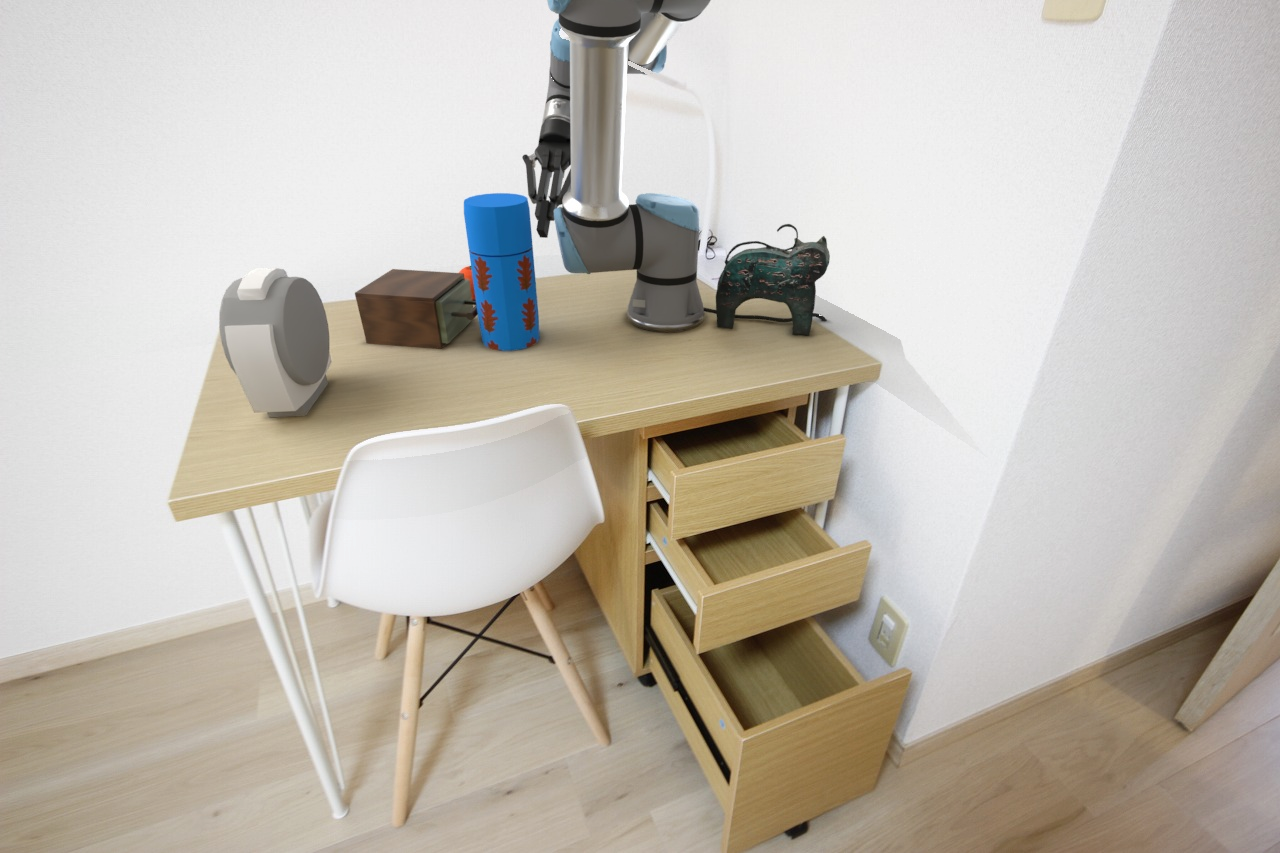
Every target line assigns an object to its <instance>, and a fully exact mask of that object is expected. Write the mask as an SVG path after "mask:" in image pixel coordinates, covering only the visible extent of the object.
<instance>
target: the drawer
mask: <svg viewBox="0 0 1280 853" xmlns="http://www.w3.org/2000/svg"><path fill="white" fill-rule="evenodd" d="M435 304H436V310H437V316H438V322H439V328H440V334H441V339H442V343H447V344H450V342H452V340H454V339H455V338H456V337H457V336H458V335H459V333H461V332H462V331H463V330H464V329H465V328H466V327H467V326H468V325H469V324H470V323H471V322H472V321H473V320H474V319H475V318H476V317H478V313H477V305H476V300H473V299H472V295H471V288H470V281H469V279H463V280H462V281H460V282H459V283H458V284H457V285H456V284H455V285H454V286H453V287H452V288H451V289H449V290H448V291H447V292H446V293H444V294H443V295H442V296H441V297H439V298H438V299H437V300H436V301H435Z"/></svg>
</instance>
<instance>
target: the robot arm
mask: <svg viewBox="0 0 1280 853" xmlns="http://www.w3.org/2000/svg"><path fill="white" fill-rule="evenodd" d="M546 1H547V5H548V8H549V10H550V11H551V12H553V13H554V14H556V15H557V14H558V18H557V19H556V20H555V22H554V24H553V26H552V30H551V37H550V42H549V47H550V49H549V50H550V53H549V54H550V55H549V57H550V60H549V61H550V62H549V63H550V64H549V72H548V73H549V74H548V85H547V86H548V87H547V92H546V101H545V104H544V110H543V116H542V121H541V126H540V131H539V136H538V143H537V146H536V148H535V149H534V153H532V154H530V155H528V154H523V155H522V160H523V164H524V165H525V170H526V172H525V173H526V183H527V195H528V198H529V200H530V202H531V203H532V204H533V205H535V209H534V216H535V219H536V220H537V224H536V231H537V234H538V236H539V238H541V239H542V238H543V239H544V238H546V239H548V236H549V230H550V226H551V222H554V224H555V231H556V236H557V241H558V245H559V250H560V255H561V259H562V263H563V264H562V265H563V267H564V269H565V270H566V271H567V272H568V273H570V274H587V275H591V274H594V273H595V274H597V273H608V272H623V271H635V270H636V280H635V283H634V287H633V290H632V292H631V295H630V298H629V302H628V305H627V314H626V315H627V320H628V322H629V323H630V324H632V325H633V326H634V327H637V328H639V329H643V330H647V331H650V332H651V331H652V332H657V333H658V332H659V333H675V332H676V333H677V332H683V331H688V330H692V329H694V328H696V327H698V326H700V325H701V324H702V323H703V321H704V320H705V312H706V313H709V314H714V315H716V309H713V308H709V307H704V303H703V299H702V296H701V293H700V289H699V286H698V281H697V280H698V278H697V276H698V258H699V240H700V239H699V238H700V231H701V226H700V225H701V224H700V210H699V207H698V206H697V205H696V203H695V202H693V201H692V200H690V199H686V198H683V197H680V196H675V195H671V194H664V193H653V192H649V193H640V194H638V195H637V196H636V199H635V204H630V203H629V199H628V197H627V195H626V194H625V193H624V192H623V191H622V181H623V180H622V178H623V162H624V144H625V143H624V141H625V140H624V139H625V122H626V105H627V104H626V103H627V85H628V75H644V76H645V75H647V74H645V73H644V72H641V71H640V70H637V69H635V68H633V67H631V66H629V65H628V61H631V62H633V63H635V64H637V65H639V66H641V67H643V68H646V69H648V70H651V71H652V72H656V73H655V74H659V73H661V72H662V71H663V70H664V69H665V65H666V64H665V63H666V61H667V56H668V55H667V52H668V51H667V49H668V48H667V45H668V44H669V42H670V41H671V40H672V38H673V37H674V36H675V35H676V33H677V32H678V31H679V30H680V29H681V27H682V26H684V24H685V23H688V22H691V21H693V20H695V19H696V18H697V17H699V16H700V15H701V14H702V13H703V12H704V10H705V9H707V7H708V5H709V4H710V3H711V2H712V0H546ZM561 28H562V30H563V31H564V32H565V33H566V34H567V35H568V36H569V38H570V41H569V40H566V39H562V38H561V37H560V35H559V31H560V29H561ZM551 77H552V78H551ZM553 80H554V81H553ZM537 161H538V163H539V165H540V168H541V170H540V177H539V183H538V187H537V177H536V176H537V175H536V170H535V168H536V165H537ZM569 167H570V169H569ZM567 169H569V171H568V173H567V176H566V178H565V173H566V170H567ZM551 178H552V181H551ZM564 178H565V180H564ZM563 180H564V182H563ZM550 184H551V187H550ZM549 190H550V192H549ZM548 193H549V194H548ZM548 198H549V199H548ZM561 205H562V206H561ZM819 314H820V313H817V312H813V317H812V318H818V319H819V320H821V321H822V322H827V321H828V320H827V318H826V317H825V316H823V315H822V316H819ZM734 319H738V320H760V321H761V320H762V321H770V322H776V323H792V317H786V318H784V317H783V318H782V317H774V316H767V315H758V314H757V315H756V314H736V313H735V318H734Z"/></svg>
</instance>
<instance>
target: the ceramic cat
mask: <svg viewBox="0 0 1280 853" xmlns="http://www.w3.org/2000/svg"><path fill="white" fill-rule="evenodd" d="M787 227H788V228H791V229H794V232H795V233H796V237H794V244H793V245H792V246H791V247H788V248H780V247H777V246H773V245H770V244H768V243H766V242H762V241H759V240H753V241H752V240H751V241H750V240H749V241H743V242H740V243H736V245H734V246H732V248H731V249H730V251H729V252H728V253H727V254H726V257H725V260H724V264H725V265H724V267H723V270H722V271H721V273H720V276H719V277H718V281H717V286H716V293H715V310H716V314H715V315H716V327H717V328H718V329H728V330H733V329H734V324H735V319H736V318H735V314H736V312H737V309H738V308H739V307H740V306H741V305H742V304H744V303H745V302H747V301H750V300H754V299H755V300H756V299H762V300H766V301H767V300H768V301H773V302H777V303H783V304H785V305H786V306H787V308H788V310H789V312H790V315H791V318H792V322H791V323H792V328H791V329H792V330H791V333H792V334H791V335H792V336H793V335H794V336H798V335H800V336H807V337H809V336H810V333H811V328H812V323H813V318H814V317H813V313H814V310H815V305H816V296H817V295H816V293H817V289H816V282H817V281H818V280H820V279H821V278H822V277H823V276H824V275H825V274H826V272H827V270H828V267H829V264H830V258H831V255H830V254H831V253H830V250H829V248H828V240H827V237H825V235H823V236H821V237H820V238H819V239H818V240H817V241H806V242H803V241H801V239H799V232H798V229H797V227H795V226H794V225H793V224H791V223H784V224H782V225H780V226H779V227H778V228H777V229H776V232H777V233H779V231H781V230H782V229H783V228H787ZM752 244H758V245H762V246H764V247H758V248H747V249H746V248H745V249H743V250H742V251H739V252H737V253H735V254H734V255H733V256H732V257H730V255H731V254H732V252H734V251H735V250H737V248H739V247H741V246H745V245H752ZM729 257H730V258H729Z"/></svg>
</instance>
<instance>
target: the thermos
mask: <svg viewBox="0 0 1280 853" xmlns="http://www.w3.org/2000/svg"><path fill="white" fill-rule="evenodd" d="M463 217H464V224H465V232H466V239H467V240H466V241H467V245H468V246H467V248H468V253H469V261H470V266H471V269H472V276H473V283H474V291H475V298H476V299H475V301H476V305H477V313H478V315H477V320H478V325H479V330H480V335H481V340H482V344H483V345H484V346H485V347H486V348H488V349H492V350H495V351H501V352H502V351H503V352H504V351H505V352H509V351H510V352H512V351H518V350H519V351H520V350H524V349H528V348H530V347H532V346H533V345H536V344H537V343H538V342H539V340H540V319H539V316H540V315H539V306H538V293H537V282H536V270H535V259H534V247H533V235H532V234H533V233H532V224H531V223H532V222H531V210H530V205H529V201H528V197H527V196H525V195H524V194H523V195H522V194H517V193H510V192H509V193H508V192H506V193H505V192H496V193H482V194H477V195H472V196H469V197H467V198H465V199H464V200H463ZM476 305H475V306H476Z"/></svg>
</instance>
